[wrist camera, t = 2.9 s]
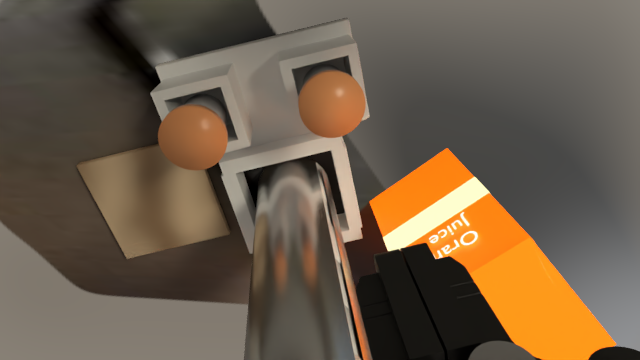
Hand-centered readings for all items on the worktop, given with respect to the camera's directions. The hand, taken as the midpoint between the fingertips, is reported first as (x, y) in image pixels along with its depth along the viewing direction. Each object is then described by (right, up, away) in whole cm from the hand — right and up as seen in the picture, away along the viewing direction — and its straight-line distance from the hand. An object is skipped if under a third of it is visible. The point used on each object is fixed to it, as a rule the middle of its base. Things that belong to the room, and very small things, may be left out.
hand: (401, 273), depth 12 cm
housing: (-6, +6, +25) cm, 26 cm away
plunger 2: (-2, +9, +19) cm, 21 cm away
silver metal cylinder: (-5, +2, +27) cm, 28 cm away
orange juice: (+8, +1, +29) cm, 30 cm away
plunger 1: (-11, +7, +19) cm, 23 cm away
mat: (-17, +1, +26) cm, 31 cm away
